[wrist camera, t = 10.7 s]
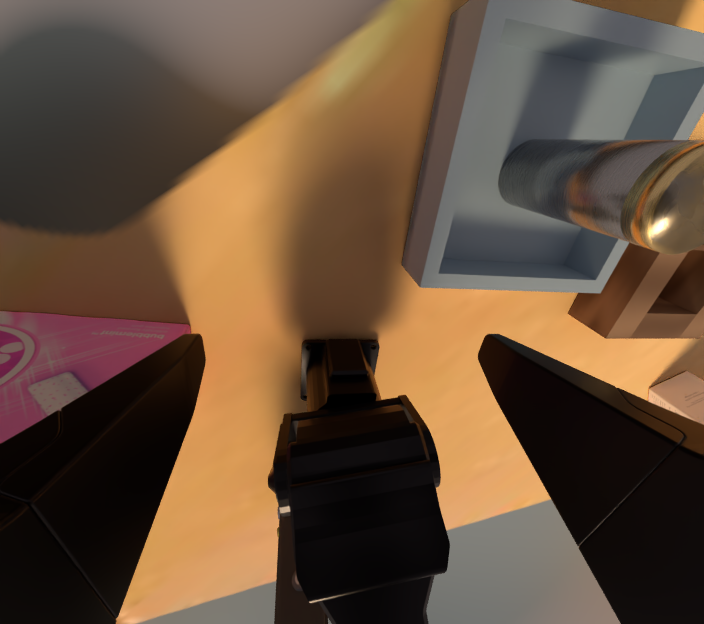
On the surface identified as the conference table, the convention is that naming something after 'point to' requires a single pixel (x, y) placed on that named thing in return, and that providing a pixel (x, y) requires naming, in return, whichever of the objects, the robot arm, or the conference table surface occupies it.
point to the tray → (538, 134)
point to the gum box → (66, 360)
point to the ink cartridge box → (681, 396)
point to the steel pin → (613, 188)
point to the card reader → (292, 584)
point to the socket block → (648, 297)
